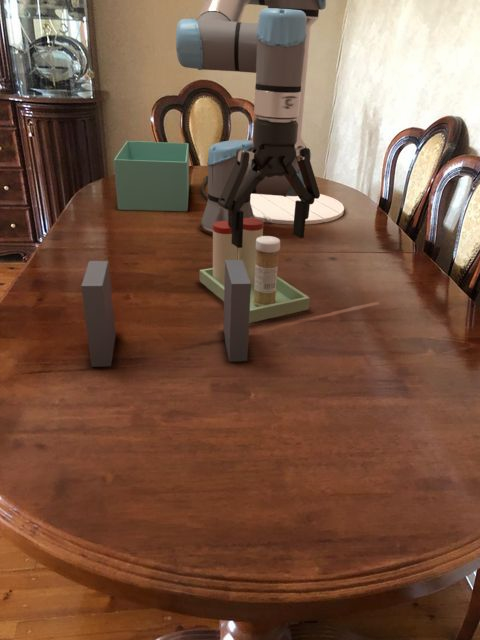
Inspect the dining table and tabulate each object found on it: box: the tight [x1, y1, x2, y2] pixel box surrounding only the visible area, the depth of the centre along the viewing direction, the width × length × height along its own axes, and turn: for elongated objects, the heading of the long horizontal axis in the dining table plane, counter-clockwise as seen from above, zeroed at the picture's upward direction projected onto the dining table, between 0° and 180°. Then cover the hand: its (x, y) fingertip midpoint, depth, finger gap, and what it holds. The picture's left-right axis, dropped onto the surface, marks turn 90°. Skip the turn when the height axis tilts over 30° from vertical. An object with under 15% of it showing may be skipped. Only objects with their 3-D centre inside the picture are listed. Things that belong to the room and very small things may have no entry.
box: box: [113, 140, 190, 212], centre depth 169 cm, size 21×32×14 cm, turn 6°
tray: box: [199, 267, 311, 324], centre depth 108 cm, size 22×14×3 cm, turn 31°
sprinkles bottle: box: [253, 235, 281, 307], centre depth 102 cm, size 5×5×13 cm
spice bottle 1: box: [212, 221, 238, 286], centre depth 109 cm, size 5×5×13 cm
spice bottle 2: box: [237, 218, 264, 285], centre depth 111 cm, size 5×5×13 cm
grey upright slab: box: [223, 259, 251, 363], centre depth 88 cm, size 3×10×14 cm, turn 9°
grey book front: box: [80, 260, 117, 368], centre depth 84 cm, size 3×10×14 cm, turn 9°
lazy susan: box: [250, 193, 345, 225], centre depth 171 cm, size 40×39×3 cm
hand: (268, 240), depth 99 cm, fingers open, 13 cm apart
